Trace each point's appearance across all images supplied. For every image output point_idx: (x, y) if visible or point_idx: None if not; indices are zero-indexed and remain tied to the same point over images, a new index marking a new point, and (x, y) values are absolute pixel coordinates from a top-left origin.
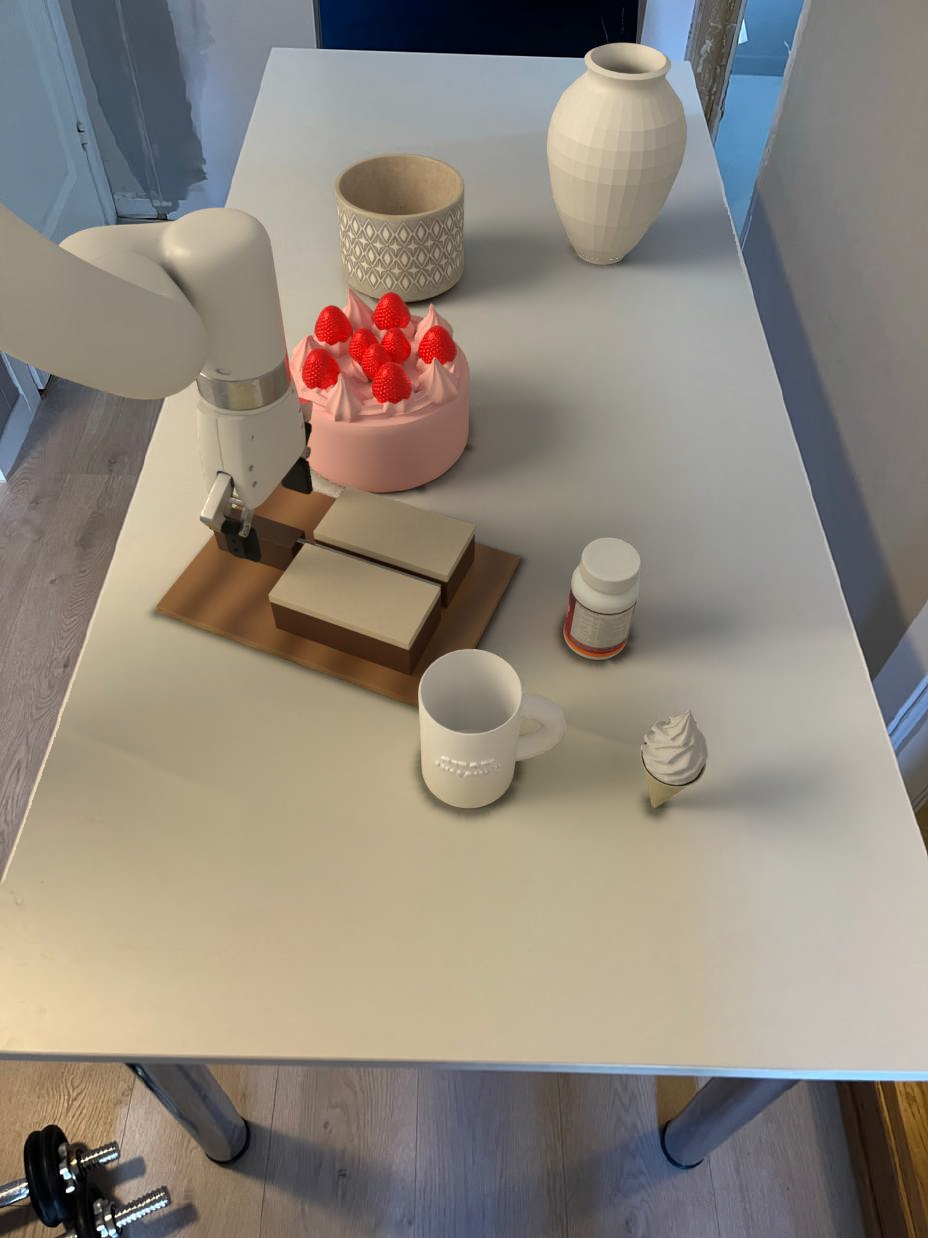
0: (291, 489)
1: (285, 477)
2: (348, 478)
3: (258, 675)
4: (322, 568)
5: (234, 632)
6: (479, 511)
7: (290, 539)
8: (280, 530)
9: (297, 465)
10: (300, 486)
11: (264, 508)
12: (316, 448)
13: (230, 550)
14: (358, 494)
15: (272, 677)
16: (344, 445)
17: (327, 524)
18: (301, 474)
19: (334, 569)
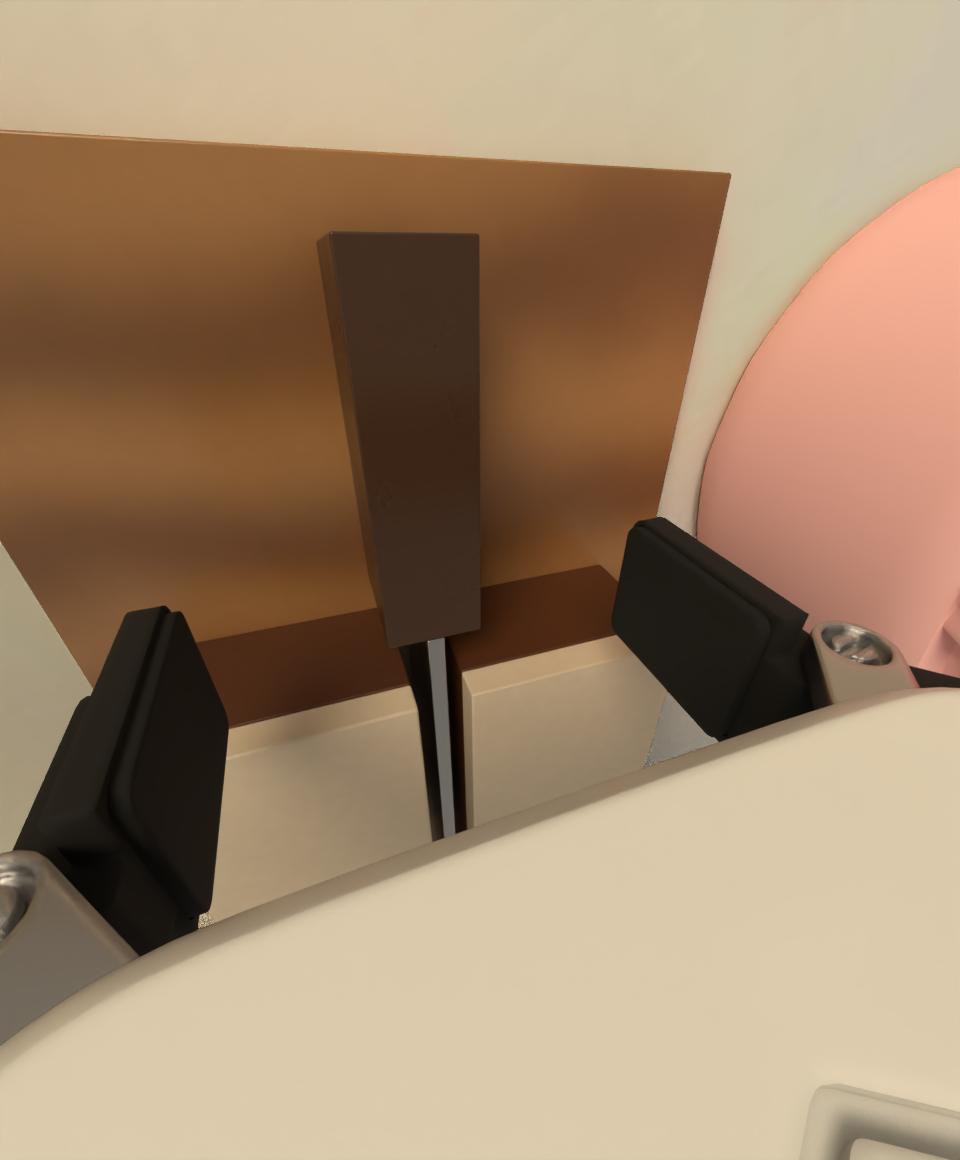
0: (622, 565)
1: (665, 580)
2: (728, 501)
3: (2, 677)
4: (350, 799)
5: (28, 567)
6: (675, 700)
7: (424, 622)
8: (445, 571)
9: (720, 710)
10: (634, 624)
11: (578, 299)
12: (839, 412)
13: (76, 714)
14: (652, 685)
15: (36, 704)
16: (841, 559)
17: (517, 703)
18: (679, 685)
19: (365, 818)
